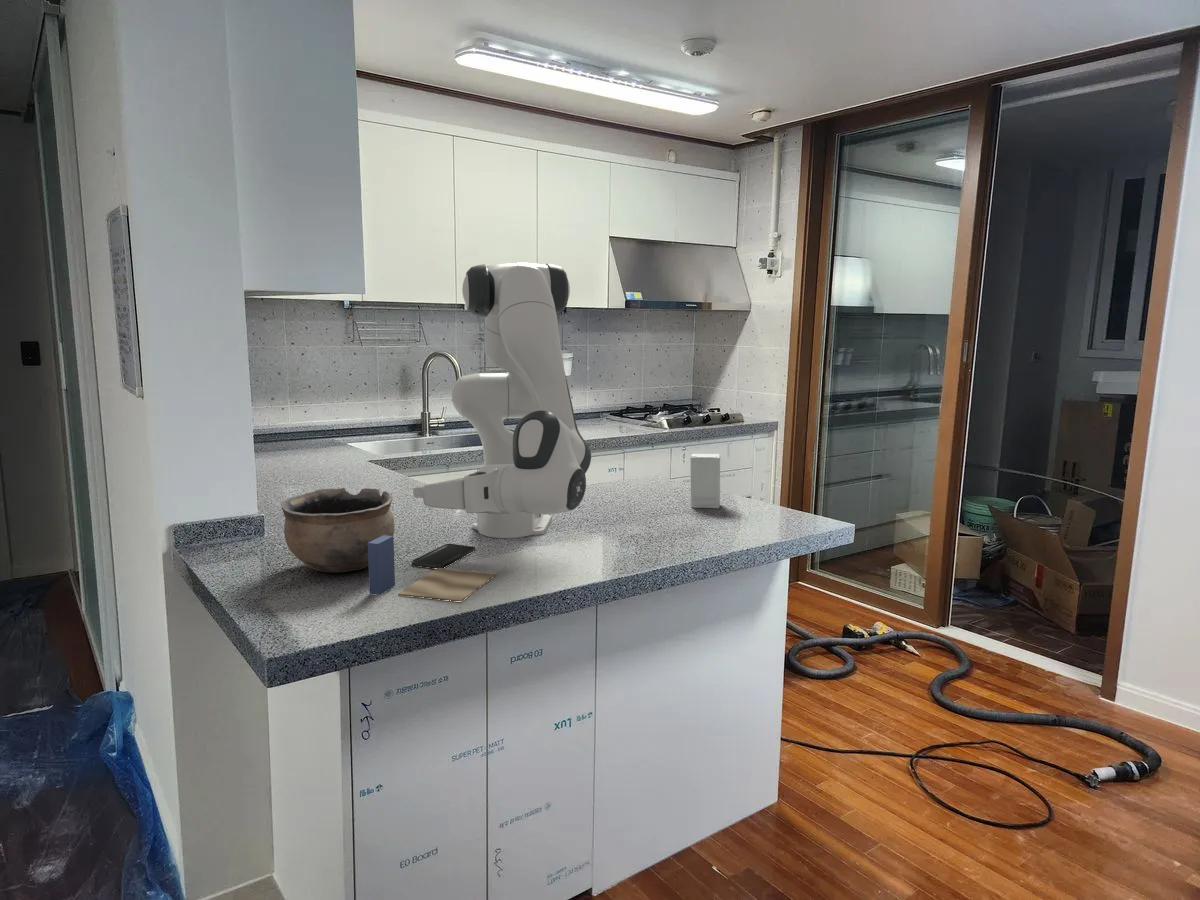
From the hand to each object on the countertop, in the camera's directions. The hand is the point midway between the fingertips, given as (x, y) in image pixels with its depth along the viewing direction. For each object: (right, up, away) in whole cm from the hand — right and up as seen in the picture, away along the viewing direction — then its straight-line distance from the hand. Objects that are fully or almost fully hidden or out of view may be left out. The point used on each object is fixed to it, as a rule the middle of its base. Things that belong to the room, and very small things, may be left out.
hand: (430, 489), depth 141 cm
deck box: (-11, -20, +6) cm, 23 cm away
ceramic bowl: (-23, -18, +19) cm, 34 cm away
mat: (+2, -19, +9) cm, 21 cm away
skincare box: (+61, -9, +76) cm, 98 cm away
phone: (-3, -17, +27) cm, 32 cm away
